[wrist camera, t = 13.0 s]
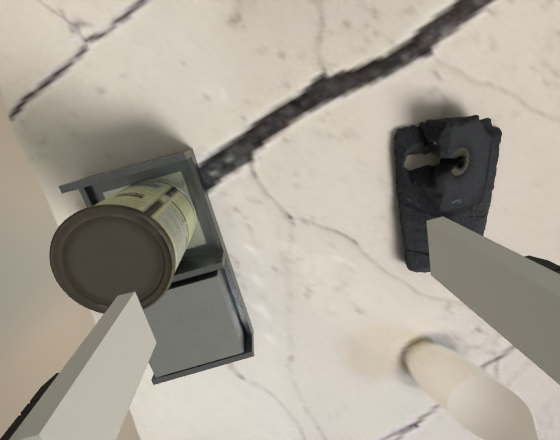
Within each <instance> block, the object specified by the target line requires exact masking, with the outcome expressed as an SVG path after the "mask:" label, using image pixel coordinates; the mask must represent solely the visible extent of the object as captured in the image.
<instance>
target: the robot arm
mask: <svg viewBox="0 0 560 440" xmlns="http://www.w3.org/2000/svg"><path fill="white" fill-rule="evenodd" d="M427 233H428V245H429V257H430V270H431V276H433V277H434V278H435V279H436V280H437V281H439V282H440V283H441V284H442V285H443V286H444V287H446V288H447V289H448V290H449V291H450V292H451V293H453V294H454V295H455V296H456V297H457V298H458V299H460V300H461V301H462V302H463V303H464V304H465V305H467V306H468V307H469V308H470V309H471V310H473V311H474V312H475V313H476V314H477V315H478V316H480V317H481V318H482V319H483V320H484V321H485V322H487V323H488V324H489V325H490V326H491V327H492V328H494V329H495V330H496V331H497V332H498V333H499V334H501V335H502V336H503V337H504V338H505V339H507V340H508V341H509V342H510V343H511V344H512V345H514V346H515V347H516V348H517V349H518V350H519V351H521V352H522V353H523V354H524V355H525V356H526V357H528V358H529V359H530V360H531V361H532V362H533V363H535V364H536V365H537V366H538V367H539V368H541V369H542V370H543V371H544V372H545V373H546V374H548V375H549V376H550V377H551V378H552V379H553V380H555V381H556V382H557V383H558V384H559V385H560V266H559V265H556V264H554V263H552V262H550V261H548V260H544V259H540V258H536V257H532V256H525V257H524V256H522V255H520V254H518V253H516V252H514V251H512V250H510V249H508V248H506V247H504V246H502V245H500V244H498V243H496V242H494V241H492V240H490V239H488V238H486V237H483V236H481V235H479V234H477V233H475V232H473V231H471V230H469V229H467V228H465V227H463V226H461V225H459V224H457V223H455V222H453V221H451V220H449V219H447V218H445V217H439V218H435V219H431V220H427ZM155 345H156V340H155V338H154V336H153V333H152V331H151V328H150V326H149V324H148V321H147V319H146V316H145V314H144V312H143V309H142V307H141V304H140V302H139V300H138V297H137V295H136V292H131V293H127V294H123V295H119V296H117V297H116V299H115V300H114V301H113V303H112V304H111V305H110V307H109V308H108V309H107V311H106V312H105V313H104V315H103V316H102V317H101V319H100V320H99V321H98V323H97V324H96V325H95V327H94V328H93V329H92V331H91V332H90V333H89V335H88V336H87V337H86V338H85V340H84V341H83V343H82V344H81V345H80V346H79V348H78V349H77V350H76V352H75V353H74V355H73V356H72V357H71V358H70V360H69V361H68V362H67V364H66V365H65V366H64V368H63V369H62V370H61V372H60V373H56V374H55V375H54V376H53V377H52V378H51V379H50V380H49V381H47V382H46V383H45V384H44V385H43V386H42V387H41V388H40V389H39V391H38V392H37V393H36V394H35V395H34V397H33V398H32V399H31V401H30V403H29V404H27V406H26V407H25V408H24V410H23V411H22V412H21V415H20V416H18V417H17V418H16V420H15V421H14V422H13V423H12V425H11V426H10V427H9V429H8V430H7V431H6V432H5V434H4V435H3V436H2V437H1V439H0V440H116V438H117V435H118V433H119V431H120V428H121V426H122V423H123V421H124V419H125V417H126V414H127V412H128V409H129V407H130V405H131V402H132V400H133V398H134V395H135V393H136V390H137V388H138V386H139V383H140V381H141V378H142V376H143V374H144V371H145V369H146V367H147V364H148V362H149V359H150V357H151V355H152V352H153V350H154V348H155Z"/></svg>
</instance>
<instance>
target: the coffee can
mask: <svg viewBox="0 0 560 440" xmlns="http://www.w3.org/2000/svg"><path fill="white" fill-rule="evenodd" d="M196 224H197V217H196V211H195V208H194V206H193V203H192V201H191V200H190V198H189V197H188V196H187V194H186V193H185V192H184V191H183V190H181V189H180V188H179V187H177V186H176V185H174V184H172V183H169V182H167V181H163V180H157V179H147V180H142V181H138V182H136V183H133V184H132V185H130V186H129V187H127V188H125V189H124V190H122V191H120V192H118V193H116V194H114V195H112V196H111V197H109V198H107V199H105V200H103V201H101V202H99V203H97V204H95V205H93V206H92V207H88V208H85V209H83V210H80V211H78V212H76V213H75V214H73V215H71V216H70V217H69V218H67V219H66V220H65V221H64V222H63V223H62V224H61V225H60V226H59V227H58V229H57V231H56V232H55V234H54V236H53V239H52V241H51V246H50V265H51V268H52V272H53V274H54V277H55V279H56V281H57V282H58V284H59V285H60V287H61V288H62V289H63V290H64V291H65V292H66V293H67V295H68V296H69V297H71V298H72V299H73V300H74V301H76V302H77V303H79V304H81V305H82V306H84V307H86V308H88V309H91V310H93V311H96V312H99V313H105V312H106V311H107V309H108V308H109V307H110V305H111V304H112V303H113V301H114V300H115V299H116V297H117V296H119V295H123V294H127V293H131V292H136V295H137V297H138V300H139V302H140V304H141V307H142V309H143V310H145V309H147V308H149V307H150V306H152V305H154V304H155V303H156V302H158V301H159V300H160V299H161V298H162V297H163V296H164V295H165V293H166V292H167V290H168V289H169V287H170V285H171V283H172V280H173V277H174V274H175V271H176V269H177V267H178V265H179V263H180V261H181V258H182V256H183V254H184V252H185V250H186V248H187V246H188V244H189V241H190V240H191V238H192V237H193V235H194V232H195V229H196Z"/></svg>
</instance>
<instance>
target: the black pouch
mask: <svg viewBox="0 0 560 440" xmlns="http://www.w3.org/2000/svg"><path fill="white" fill-rule="evenodd" d="M420 128H421V130H420ZM418 129H419V131H418ZM501 136H502V132H501V130H500V128H494V127H493V126H492V124H491V119H489V118H486V119H482V120H479V116H478V115H473V116H469V117H458V118H445V119H439V120H428V121H426V122H425V123H423V122H420V126H419V127H417V126H415V125H412V126H410V128H407V127H405V128H403V129H398V132H397V134H396V135H395V137H394V141H395V156H396V183H397V193H398V200H399V208H400V222H401V226H402V235H403V241H404V246H405V254H404V255H405V262H406V265H407V268H408V269H409V270H411V271H414V272H424V273H425V272H431V270H430V257H429V245H428V233H427V220H431V219H435V218H439V217H445V218H447V219H449V220H451V221H453V222H455V223H457V224H459V225H461V226H463V227H465V228H467V229H469V230H471V231H473V232H475V233H477V234H479V235H481V236H483V233H484V230H485V225H486V222H487V215H488V211H489V207H490V203H491V196H492V190H493V189H494V180H495V176H496V165H497V162H498V157H499V144H500V142H501ZM430 151H432V153H435V154H436V156H437V157H438V158H441V160H440V163H439V164H438V165H435V166H430V165H427V166H423V167H420V168H417V169H414V170H410V171H408V170H407V169H405V168H404V162H405V160H406V157H407V156H408V155H410V154H419V153H423V154H427V153H429V152H430Z"/></svg>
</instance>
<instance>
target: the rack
mask: <svg viewBox="0 0 560 440" xmlns="http://www.w3.org/2000/svg"><path fill="white" fill-rule="evenodd" d="M147 179H157V180H163V181H167V182H169V183H172V184H174V185H176V186H177V187H179V188H180V189H181V190H183V191H184V192H185V193H186V194H187V196H188V197H189V198H190V200H191V201H192V203H193V206H194V208H195V211H196V217H197V224H196V229H195V232H194V235H193V237H192V238H191V240H190V241H189V244H188V246H187V248H186V250H185V252H184V254H183V256H182V258H181V261H180V263H179V265H178V267H177V269H176V271H175V274H174V277H173V280H172V283H171V285H170V287H169V289H168V290H167V292H166V293H165V295H164V296H163V297H162V298H161V299H160V300H159V301H158V302H156V303H155V304H154V305H152V306H150V307H149V308H147V309H145V310H143V312H144V314H145V316H146V319H147V321H148V324H149V326H150V328H151V331H152V333H153V336H154V338H155V340H156V345H155V348H154V350H153V352H152V355H151V357H150V359H149V364H150V366H151V368H152V370H153V372H154V375H153V377H152V380H151V381H152V383H153V385H155V384H158V383H162V382H165V381H169V380H172V379H176V378H179V377H183V376H186V375H190V374H193V373H197V372H200V371H204V370H207V369H211V368H214V367H218V366H221V365H225V364H228V363H232V362H235V361H239V360H242V359H246V358H249V357H253V356H254V337H253V328H252V325H251V322H250V319H249V316H248V313H247V310H246V307H245V304H244V301H243V298H242V295H241V292H240V289H239V286H238V283H237V280H236V277H235V274H234V271H233V268H232V265H231V262H230V259H229V256H228V253H227V250H226V247H225V244H224V241H223V238H222V235H221V232H220V229H219V227H218V224H217V221H216V218H215V215H214V212H213V209H212V206H211V203H210V200H209V197H208V194H207V191H206V188H205V185H204V182H203V179H202V176H201V173H200V170H199V167H198V164H197V161H196V158H195V155H194V152H193V149H190V150H186V151H183V152H179V153H175V154H172V155H168V156H164V157H160V158H157V159H153V160H149V161H146V162H142V163H138V164H135V165H131V166H127V167H124V168H120V169H116V170H112V171H109V172H105V173H101V174H98V175H94V176H90V177H87V178H83V179H80V180H77V181H74V182H71V183H68V184H64V185H61V186H59V188H60V190H61V193H65V192H69V191H73V190H76V189H79V190H80V193H81V195H82V197H83V199H84V201H85V203H86V206H87V208H88V207H92V206H93V205H95V204H97V203H99V202H101V201H103V200H105V199H107V198H109V197H111V196H112V195H114V194H116V193H118V192H120V191H122V190H124V189H125V188H127V187H129V186H130V185H132V184H133V183H136V182H138V181H142V180H147Z"/></svg>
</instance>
